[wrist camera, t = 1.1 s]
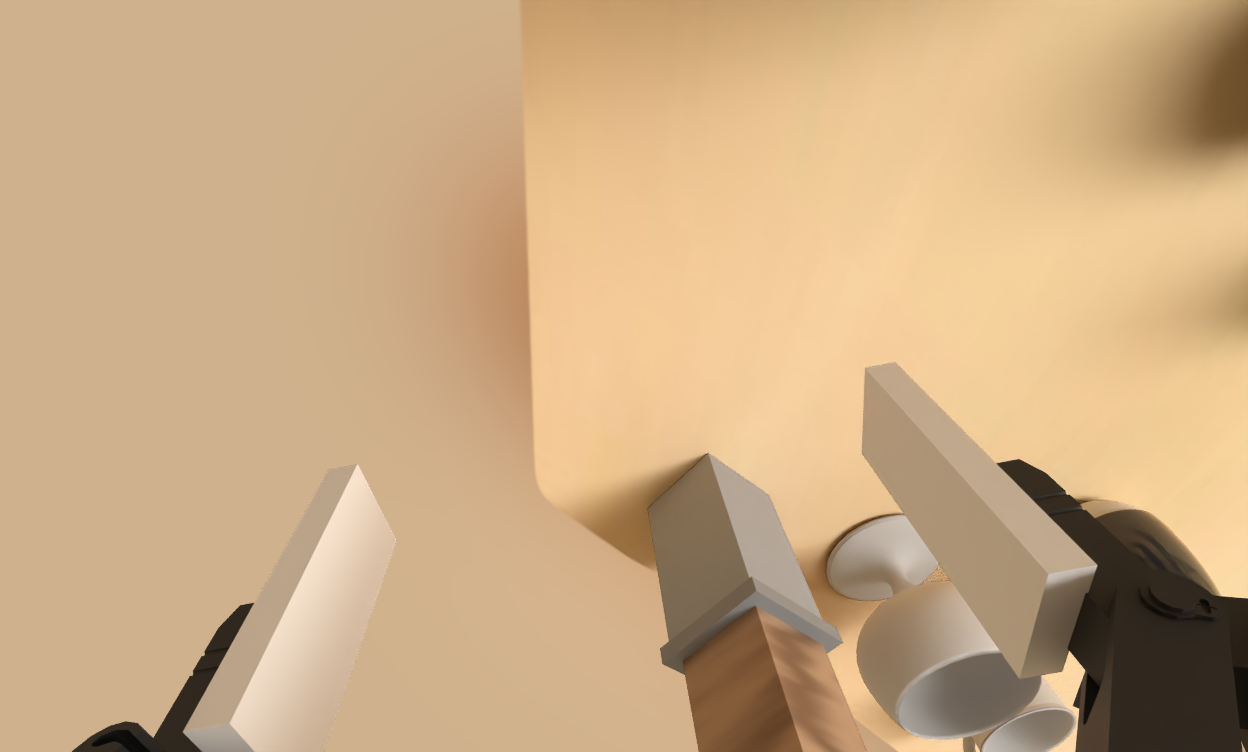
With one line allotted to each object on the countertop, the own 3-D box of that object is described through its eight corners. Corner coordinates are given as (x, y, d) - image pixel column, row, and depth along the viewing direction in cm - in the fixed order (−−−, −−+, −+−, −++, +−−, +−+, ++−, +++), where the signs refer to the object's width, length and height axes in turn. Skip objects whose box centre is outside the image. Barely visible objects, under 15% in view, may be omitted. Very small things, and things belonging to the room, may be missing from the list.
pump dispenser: (1141, 526, 61) (1297, 661, 48) (1042, 572, 64) (1165, 712, 50) (1121, 465, 57) (1287, 595, 44) (1015, 517, 59) (1142, 655, 46)
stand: (639, 509, 55) (662, 663, 41) (708, 446, 52) (756, 590, 38) (708, 551, 58) (750, 706, 45) (776, 494, 55) (843, 642, 42)
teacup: (990, 634, 68) (1037, 701, 61) (1049, 659, 72) (1101, 725, 65) (905, 701, 74) (940, 770, 67) (964, 721, 77) (1003, 788, 70)
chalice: (941, 484, 56) (1052, 619, 43) (960, 575, 63) (1062, 715, 50) (799, 536, 58) (866, 680, 45) (833, 619, 65) (899, 765, 52)
